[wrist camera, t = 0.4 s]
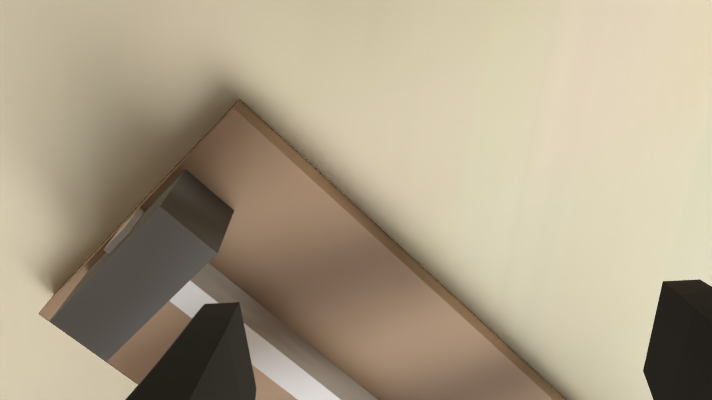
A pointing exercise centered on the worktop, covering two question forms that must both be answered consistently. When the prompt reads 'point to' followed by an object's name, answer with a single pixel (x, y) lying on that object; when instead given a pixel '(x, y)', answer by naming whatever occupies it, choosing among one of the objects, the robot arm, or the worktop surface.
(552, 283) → the worktop surface
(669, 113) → the worktop surface
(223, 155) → the track
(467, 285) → the worktop surface
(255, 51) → the worktop surface
